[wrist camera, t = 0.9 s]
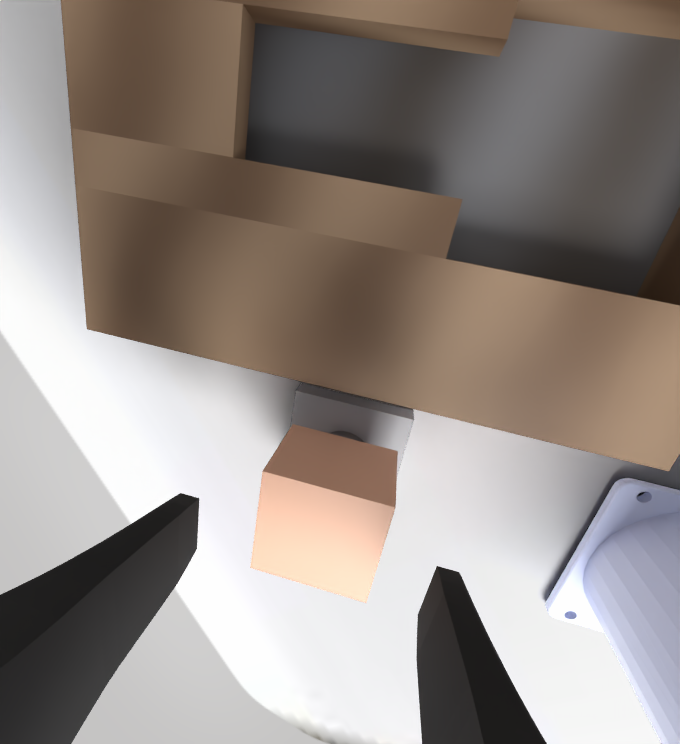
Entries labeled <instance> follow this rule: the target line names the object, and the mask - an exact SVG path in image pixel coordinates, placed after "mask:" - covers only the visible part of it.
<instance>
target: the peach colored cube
mask: <svg viewBox="0 0 680 744" xmlns="http://www.w3.org/2000/svg"><path fill="white" fill-rule="evenodd" d="M413 421H414V413H413V410H412V409H408V408H403V407H399V406H395V405H391V404H387V403H383V402H379V401H375V400H371V399H367V398H363V397H359V396H355V395H350V394H346V393H342V392H338V391H334V390H330V389H326V388H322V387H318V386H314V385H310V384H306V383H301V385H300V386H299V387H298V389H297V390H296V393H295V400H294V407H293V413H292V420H291V426H290V429H289V431H288V432H287V434H286V436H285V437H284V439H283V440H282V442H281V443H280V445H279V446H278V448H277V450H276V451H275V453H274V454H273V456H272V457H271V459H270V461H269V462H268V464H267V465H266V467H265V468H264V470H263V473H262V480H261V488H260V496H259V504H258V512H257V520H256V528H255V536H254V544H253V552H252V559H251V567H250V568H253V569H256V570H259V571H263V572H266V573H269V574H273V575H276V576H279V577H282V578H286V579H289V580H292V581H296V582H299V583H302V584H305V585H309V586H312V587H315V588H319V589H322V590H325V591H328V592H332V593H335V594H338V595H342V596H345V597H348V598H351V599H355V600H358V601H361V602H365V603H366V602H367V598H368V595H369V592H370V589H371V585H372V582H373V579H374V576H375V572H376V569H377V566H378V563H379V559H380V556H381V553H382V550H383V546H384V543H385V540H386V536H387V533H388V530H389V527H390V523H391V520H392V517H393V514H394V510H395V504H396V480H397V475H398V472H399V468H400V465H401V461H402V458H403V455H404V451H405V448H406V445H407V441H408V438H409V434H410V431H411V428H412V424H413Z"/></svg>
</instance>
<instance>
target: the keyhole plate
mask: <svg viewBox="0 0 680 744" xmlns="http://www.w3.org/2000/svg"><path fill="white" fill-rule="evenodd" d="M61 9H62V21H63V34H64V47H65V59H66V72H67V84H68V97H69V110H70V122H71V135H72V148H73V160H74V173H75V185H76V198H77V211H78V223H79V236H80V249H81V261H82V274H83V286H84V299H85V312H86V324H87V329H89V330H93V331H97V332H101V333H105V334H109V335H113V336H117V337H121V338H126V339H130V340H134V341H138V342H142V343H146V344H150V345H154V346H158V347H162V348H166V349H171V350H175V351H179V352H183V353H187V354H191V355H195V356H199V357H203V358H207V359H211V360H215V361H220V362H224V363H228V364H232V365H236V366H240V367H244V368H248V369H252V370H256V371H260V372H264V373H269V374H273V375H277V376H281V377H285V378H289V379H293V380H297V381H301V382H305V383H309V384H314V385H318V386H322V387H326V388H330V389H334V390H338V391H342V392H346V393H350V394H354V395H358V396H363V397H367V398H371V399H375V400H379V401H383V402H387V403H391V404H395V405H399V406H403V407H407V408H412V409H416V410H420V411H424V412H428V413H432V414H436V415H440V416H444V417H448V418H452V419H457V420H461V421H465V422H469V423H473V424H477V425H481V426H485V427H489V428H493V429H497V430H501V431H506V432H510V433H514V434H518V435H522V436H526V437H530V438H534V439H538V440H542V441H546V442H550V443H555V444H559V445H563V446H567V447H571V448H575V449H579V450H583V451H587V452H591V453H595V454H600V455H604V456H608V457H612V458H616V459H620V460H624V461H628V462H632V463H636V464H640V465H644V466H649V467H653V468H657V469H661V470H665V471H669V470H670V469H671V467H672V465H673V464H674V462H675V461H676V459H677V458H678V456H679V454H680V0H61Z"/></svg>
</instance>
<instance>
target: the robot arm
mask: <svg viewBox="0 0 680 744" xmlns="http://www.w3.org/2000/svg"><path fill="white" fill-rule="evenodd" d="M641 492H645V493H644V494H643V495H641V496H637V495H638V494H639V493H641ZM198 512H199V498H195V497H192V496H188V495H185V494H181V493H180V494H178V495H177V496H175V497H173V498H172V499H170V500H169V501H167V502H165V503H164V504H162V505H161V506H159V507H157V508H156V509H154V510H153V511H151V512H150V513H148V514H146V515H145V516H143V517H142V518H140V519H138V520H137V521H135V522H134V523H132V524H130V525H129V526H127V527H125V528H124V529H123V530H121V531H119V532H117V533H116V534H114V535H112V536H111V537H109V538H107V539H106V540H104V541H103V542H101V543H99V544H97V545H95V546H94V547H92V548H90V549H88V550H86V551H85V552H83V553H81V554H79V555H77V556H76V557H74V558H72V559H70V560H68V561H67V562H65V563H63V564H61V565H59V566H57V567H56V568H54V569H52V570H50V571H48V572H46V573H44V574H42V575H40V576H38V577H36V578H34V579H32V580H30V581H28V582H26V583H24V584H22V585H20V586H18V587H16V588H14V589H12V590H10V591H8V592H5V593H3V594H1V595H0V744H71V743H72V741H73V740H74V738H75V736H76V735H77V733H78V731H79V730H80V728H81V726H82V725H83V723H84V721H85V720H86V718H87V716H88V715H89V713H90V711H91V710H92V708H93V706H94V705H95V703H96V701H97V700H98V698H99V696H100V695H101V693H102V691H103V690H104V688H105V687H106V685H107V683H108V682H109V680H110V679H111V677H112V676H113V674H114V673H115V671H116V670H117V668H118V667H119V665H120V664H121V662H122V661H123V660H124V658H125V657H126V656H127V654H128V653H129V651H130V650H131V648H132V647H133V645H134V644H135V642H136V641H137V640H138V638H139V637H140V636H141V634H142V633H143V632H144V630H145V629H146V627H147V626H148V624H149V623H150V622H151V620H152V619H153V617H154V616H155V615H156V613H157V612H158V610H159V609H160V608H161V606H162V605H163V603H164V602H165V600H166V599H167V598H168V596H169V595H170V593H171V592H172V590H173V589H174V587H175V586H176V585H177V583H178V581H179V580H180V578H181V576H182V574H183V573H184V571H185V569H186V567H187V566H188V564H189V562H190V560H191V558H192V557H193V555H194V553H195V551H196V549H197V533H198ZM545 606H546V609H547V611H548V614H549V615H550V616H551V617H554V618H556V619H559V620H563V621H566V622H570V623H573V624H577V625H580V626H583V627H587V628H590V629H594V630H597V631H600V632H604V633H605V635H606V637H607V639H608V641H609V643H610V645H611V647H612V649H613V651H614V653H615V655H616V657H617V659H618V661H619V662H620V664H621V666H622V668H623V670H624V672H625V674H626V676H627V678H628V680H629V682H630V684H631V686H632V688H633V690H634V692H635V694H636V696H637V698H638V699H639V701H640V703H641V705H642V707H643V709H644V711H645V713H646V715H647V717H648V719H649V721H650V723H651V725H652V727H653V729H654V731H655V733H656V735H657V736H658V738H659V740H660V742H661V744H680V490H677V489H673V488H669V487H665V486H661V485H657V484H653V483H649V482H645V481H641V480H637V479H633V478H623V479H620V480H618V481H616V482H615V483H614V485H613V486H612V488H611V489H610V491H609V493H608V495H607V496H606V498H605V500H604V502H603V503H602V505H601V507H600V509H599V510H598V512H597V514H596V516H595V517H594V519H593V521H592V523H591V524H590V526H589V528H588V530H587V531H586V533H585V535H584V536H583V538H582V540H581V542H580V543H579V545H578V547H577V549H576V550H575V552H574V554H573V556H572V557H571V559H570V561H569V563H568V564H567V566H566V568H565V570H564V571H563V573H562V575H561V577H560V578H559V580H558V582H557V584H556V585H555V587H554V589H553V590H552V592H551V594H550V596H549V597H548V599H547V601H546V604H545ZM417 672H418V688H419V703H420V717H421V732H422V744H547V743H546V742H545V740H544V738H543V737H542V735H541V733H540V731H539V730H538V728H537V726H536V725H535V723H534V721H533V719H532V718H531V716H530V714H529V712H528V710H527V709H526V707H525V705H524V703H523V701H522V700H521V698H520V696H519V694H518V692H517V691H516V689H515V687H514V685H513V683H512V681H511V679H510V677H509V675H508V674H507V672H506V670H505V668H504V666H503V664H502V662H501V660H500V658H499V656H498V654H497V652H496V650H495V648H494V646H493V644H492V642H491V640H490V638H489V636H488V634H487V632H486V630H485V628H484V625H483V623H482V621H481V619H480V617H479V615H478V613H477V610H476V608H475V606H474V604H473V602H472V599H471V597H470V595H469V593H468V590H467V588H466V586H465V584H464V581H463V579H462V577H461V575H460V573H459V572H456V571H453V570H449V569H445V568H442V567H438V566H437V567H436V570H435V573H434V575H433V578H432V580H431V583H430V585H429V588H428V590H427V593H426V596H425V598H424V601H423V603H422V606H421V608H420V611H419V614H418V627H417Z"/></svg>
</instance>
